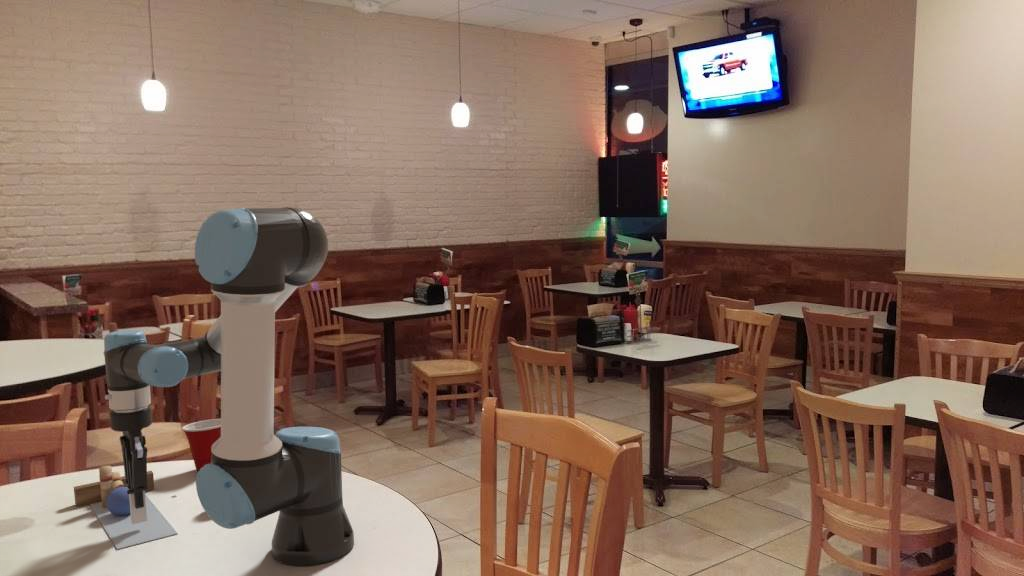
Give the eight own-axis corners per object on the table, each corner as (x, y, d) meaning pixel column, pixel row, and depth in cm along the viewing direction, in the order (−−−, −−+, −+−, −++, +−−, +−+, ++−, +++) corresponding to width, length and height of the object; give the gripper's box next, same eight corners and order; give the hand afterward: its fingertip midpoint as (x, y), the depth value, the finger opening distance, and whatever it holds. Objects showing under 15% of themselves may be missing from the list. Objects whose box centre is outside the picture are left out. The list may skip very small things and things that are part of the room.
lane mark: (177, 534, 157) (177, 533, 156) (117, 549, 150) (117, 548, 150) (143, 493, 179) (143, 492, 179) (90, 505, 173) (90, 504, 173)
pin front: (129, 498, 171) (119, 470, 176) (117, 501, 169) (107, 473, 175) (130, 506, 172) (119, 478, 178) (117, 509, 170) (107, 481, 176)
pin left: (115, 507, 171) (112, 467, 170) (103, 510, 170) (99, 470, 169) (113, 503, 173) (110, 464, 172) (101, 506, 172) (97, 467, 171)
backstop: (154, 489, 182) (153, 472, 181) (76, 506, 172) (75, 489, 172) (152, 487, 183) (151, 470, 183) (75, 504, 174) (73, 486, 173)
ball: (134, 499, 172) (143, 514, 168) (105, 510, 168) (113, 525, 164) (130, 477, 169) (139, 491, 165) (100, 488, 166) (109, 502, 162)
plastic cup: (215, 459, 202) (212, 414, 201) (240, 467, 196) (237, 420, 195) (176, 471, 194) (172, 424, 192) (201, 480, 187) (198, 431, 186)
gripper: (103, 404, 159) (112, 516, 161) (116, 418, 149) (125, 537, 151) (143, 398, 163) (151, 507, 166) (158, 410, 153) (167, 526, 156)
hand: (139, 521), depth 159 cm, fingers closed
